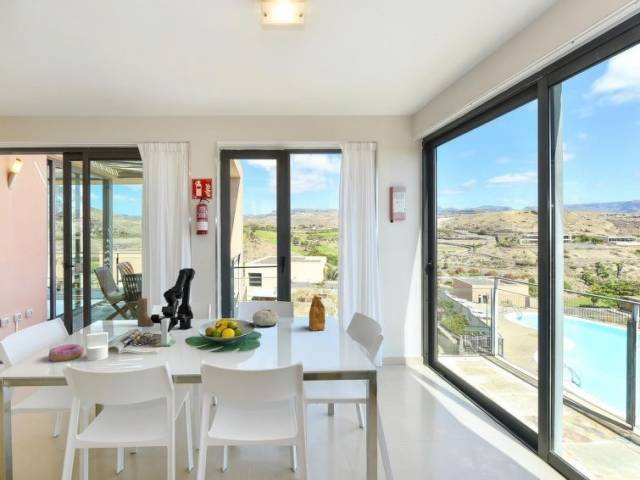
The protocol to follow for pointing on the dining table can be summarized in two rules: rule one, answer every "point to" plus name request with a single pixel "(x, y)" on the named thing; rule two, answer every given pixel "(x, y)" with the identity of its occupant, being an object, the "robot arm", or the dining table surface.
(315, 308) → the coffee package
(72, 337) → the dining table surface
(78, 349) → the donut
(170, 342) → the column on green base
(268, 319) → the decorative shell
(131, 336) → the plate
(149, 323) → the brown boot
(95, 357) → the cylinder with rectangular tab
